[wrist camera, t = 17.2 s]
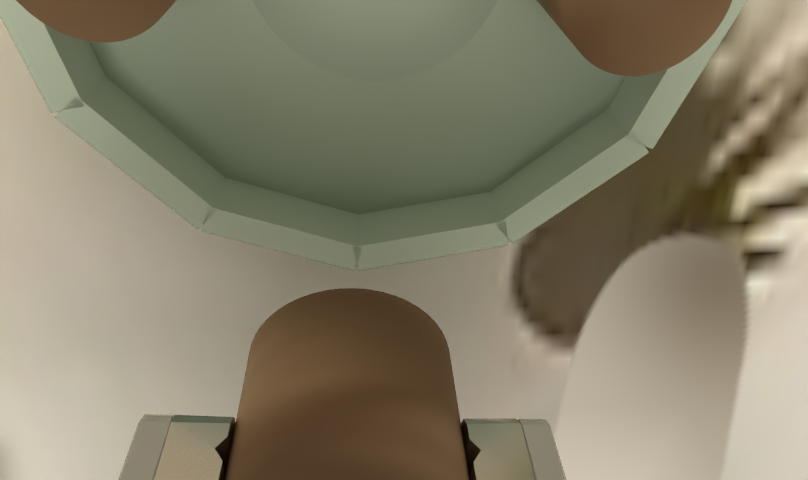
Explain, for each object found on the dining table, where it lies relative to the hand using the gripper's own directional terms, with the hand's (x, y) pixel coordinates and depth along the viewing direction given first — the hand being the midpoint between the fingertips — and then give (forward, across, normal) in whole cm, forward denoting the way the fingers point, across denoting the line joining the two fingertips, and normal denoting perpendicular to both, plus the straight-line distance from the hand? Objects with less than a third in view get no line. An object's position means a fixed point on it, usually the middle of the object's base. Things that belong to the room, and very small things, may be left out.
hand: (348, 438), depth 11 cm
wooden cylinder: (+2, 0, 0) cm, 2 cm away
